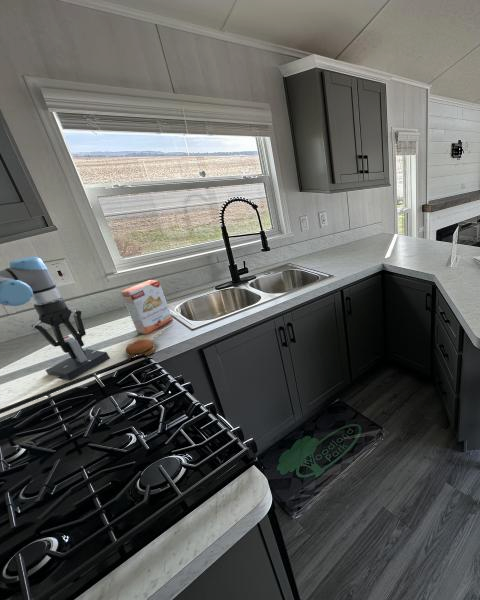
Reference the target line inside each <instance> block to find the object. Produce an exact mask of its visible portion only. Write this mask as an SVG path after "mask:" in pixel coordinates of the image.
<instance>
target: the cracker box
mask: <svg viewBox="0 0 480 600" xmlns="http://www.w3.org/2000/svg"><path fill="white" fill-rule="evenodd" d="M119 293H120V295H121V297H122V299H123V303H124V304H125V306H126V310H127V311H128V314H129V316H130V318H131V320H132V324H133V326H134V328H135V330H136V333H138V334H144V335H148V334H150V333H152V332H153V331H156V330H158V329H159V328H161V327H163V326H164V325H165V326H166V325H167V324H169V323H170V322H172V321H173V320H174V319H173V316H172V313H171V311H170V307H169V305H168V302H167V300H166V297H165V293H164V291H163V288H162V286H161V283H160V281H159V280H157V279H155V280H153V279H149V280H146V281H143V282H140V283H138V284H135V285H133V286H131V287H127V288H126V289H123V290H121V291H120V292H119Z"/></svg>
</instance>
